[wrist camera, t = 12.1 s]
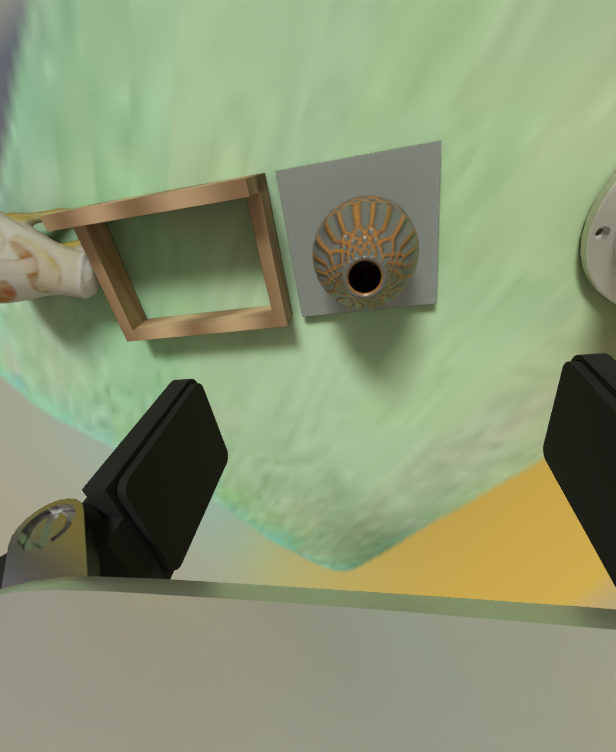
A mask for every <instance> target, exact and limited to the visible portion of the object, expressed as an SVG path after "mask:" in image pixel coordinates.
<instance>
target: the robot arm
mask: <svg viewBox="0 0 616 752" xmlns="http://www.w3.org/2000/svg"><path fill="white" fill-rule="evenodd" d="M598 229H599V231H598V232H597V233H596V231H597V230H598ZM595 233H596V234H595ZM580 254H581V261H582V267H583V270H584V272H585V275H586V277H587V279H588V281H589V283H590V284H591V285H592V286H593V287H594V288H595V290H596V291H597V292H598V293H600V294H601V295H603V296H604V297H605V298H607V299H608V300H610V301H612V302H613V303H615V304H616V172H615V173H614V174H613V175H612V176H611V177H610V179H609V180H608V181H607V183H606V184H605V186H604V187H603V189H602V190H601V192H600V193H599V195H598V196H597V198H596V200H595V202H594V204H593V206H592V208H591V210H590V212H589V214H588V217H587V219H586V223H585V226H584V230H583V233H582V238H581V251H580ZM543 453H544V457H545V460H546V462H547V464H548V466H549V467H550V469H551V471H552V472H553V475H554V476H555V478H556V480H557V482H558V484H559V485H560V487H561V489H562V491H563V493H564V494H565V496H566V498H567V500H568V502H569V503H570V505H571V507H572V509H573V511H574V512H575V514H576V516H577V518H578V520H579V522H580V523H581V525H582V527H583V529H584V531H585V532H586V534H587V536H588V538H589V540H590V541H591V543H592V545H593V547H594V549H595V550H596V552H597V554H598V556H599V558H600V560H601V561H602V563H603V565H604V567H605V569H606V570H607V572H608V574H609V576H610V578H611V579H612V581H613V583H614V585H615V587H616V361H615V360H614V359H613V358H612V357H611V356H610V355H608V354H605V353H601V354H585V355H576V356H574V357H573V359H572V360H571V362H566V363H565V364H564V366H563V368H562V372H561V376H560V380H559V385H558V389H557V393H556V397H555V401H554V405H553V409H552V413H551V417H550V421H549V425H548V429H547V433H546V437H545V441H544V446H543ZM227 460H228V452H227V449H226V446H225V443H224V441H223V438H222V436H221V433H220V430H219V428H218V425H217V422H216V420H215V417H214V415H213V412H212V409H211V407H210V404H209V401H208V399H207V396H206V393H205V391H204V388H203V386H202V385H201V384H199V383H197V382H196V381H195V380H194V379H182V380H173V381H172V382H171V383H170V384H169V385H168V386H167V388H166V389H165V390H164V391H163V392H162V394H161V395H160V396H159V397H158V398H157V400H156V401H155V402H154V403H153V404H152V406H151V407H150V408H149V409H148V410H147V412H146V413H145V414H144V415H143V417H142V418H141V419H140V420H139V421H138V423H137V424H136V425H135V426H134V427H133V429H132V430H131V431H130V432H129V433H128V435H127V436H126V437H125V438H124V439H123V441H122V442H121V443H120V444H119V445H118V447H117V448H116V449H115V450H114V452H113V453H112V454H111V455H110V456H109V458H108V459H107V460H106V461H105V462H104V464H103V465H102V466H101V467H100V468H99V470H98V471H97V472H96V473H95V474H94V476H93V477H92V478H91V479H90V480H89V482H88V483H87V484H86V485H85V487H84V488H83V489H82V491H83V492H84V493H85V495H86V496H87V498H86V499H85V500H84V502H83V503H81V502H80V501H78V500H77V499H70V498H68V499H62V500H58V501H55V502H53V503H50V504H48V505H46V506H44V507H43V508H41V509H39V510H37V511H36V512H35V513H33V514H32V515H31V516H30V517H28V518H27V519H26V520H25V521H24V522H23V523H22V524H21V525H20V526H19V527H18V528H17V530H16V531H15V533H14V534H13V535H12V537H11V540H10V542H9V545H8V551H7V553H6V554H5V555H3V556H1V557H0V752H616V610H613V609H602V608H590V607H577V606H576V607H575V606H563V605H562V606H561V605H549V604H533V603H521V602H507V601H493V600H479V599H464V598H450V597H435V596H422V595H405V594H392V593H391V594H389V593H377V592H376V593H375V592H362V591H347V590H331V589H316V588H299V587H285V586H269V585H252V584H236V583H219V582H203V581H186V580H170V579H171V576H172V574H173V572H174V570H177V569H178V568H179V567H180V566H181V564H182V562H183V560H184V558H185V556H186V553H187V551H188V549H189V546H190V544H191V542H192V540H193V538H194V535H195V533H196V531H197V529H198V526H199V524H200V522H201V520H202V518H203V515H204V513H205V511H206V509H207V506H208V504H209V502H210V500H211V497H212V495H213V493H214V491H215V488H216V486H217V484H218V482H219V479H220V477H221V475H222V473H223V470H224V468H225V466H226V464H227Z"/></svg>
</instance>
